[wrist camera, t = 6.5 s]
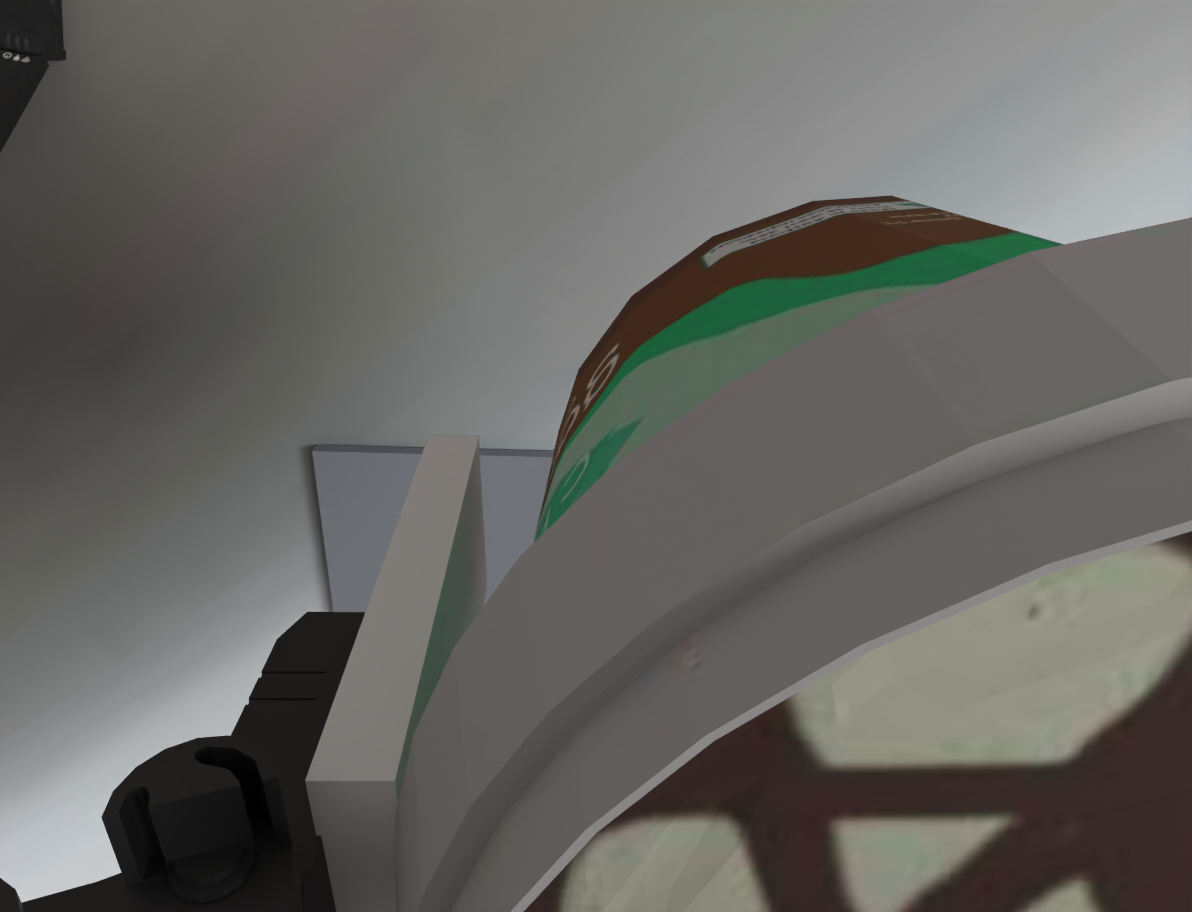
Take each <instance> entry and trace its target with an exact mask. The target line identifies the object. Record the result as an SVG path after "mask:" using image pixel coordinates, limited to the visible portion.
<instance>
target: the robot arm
mask: <svg viewBox="0 0 1192 912" xmlns="http://www.w3.org/2000/svg"><path fill="white" fill-rule="evenodd" d="M486 588H487V569H486V552H485V535H484V518H483V501H482V484H481V467H480V449H479V436H428V439H427V441H426V444H425V447H424V450H423V453H422V455H421V458H420V461H419V464H418V467H417V469H416V472H415V475H414V478H413V481H412V483H411V486H410V489H409V492H408V494H407V497H406V500H405V503H404V506H403V508H402V511H401V514H400V517H399V520H398V522H397V525H396V528H395V531H394V534H393V536H392V539H391V542H390V545H389V548H388V550H387V553H386V556H385V559H384V562H383V564H382V567H381V570H380V573H379V576H378V578H377V581H376V584H375V587H374V590H373V592H372V595H371V598H370V601H369V604H368V606H367V609H366V612H307V613H305V614H304V615H303V616H302V617H301V618H300V619H299V620H298V621H297V622H296V623H295V624H293V625H292V626H291V627H290V628H289V629H288V630H287V631H286V632H285V633H284V634H282V635H281V636H280V637H279V638H278V639H277V641H276V643H275V645H274V647H273V649H272V651H271V653H270V655H269V657H268V659H267V662H266V664H265V666H264V668H263V670H262V677H261V678H258V680H257V682H256V684H255V687H254V689H253V691H252V693H251V695H250V697H249V704H248V705H245V707H244V709H243V712H242V714H241V716H240V718H239V720H238V722H237V724H236V726H235V728H234V730H233V732H232V734H231V736H217V737H205V738H196V739H193V740H190V741H188V742H185V743H182V744H179V745H176V746H173V747H170V748H167V749H165V750H163V751H161V752H160V753H158V754H157V755H155V756H153V757H152V758H150V759H149V760H147V761H145V762H144V763H142V764H141V765H139V766H137V767H136V768H135V769H134V770H133V771H132V772H131V773H130V774H129V775H128V776H127V777H126V778H125V779H124V780H123V782H122V783H121V784H120V785H119V786H118V787H117V788H116V789H115V790H114V791H113V793H112V795H111V797H110V800H109V802H108V804H107V806H106V808H105V811H104V813H103V815H102V820H103V823H104V825H105V828H106V831H107V834H108V836H109V839H110V842H111V845H112V847H113V850H114V853H115V855H116V858H117V861H118V864H119V866H120V869H121V872H122V873H120V874H117V875H114V876H112V877H109V878H106V879H103V880H101V881H98V882H95V883H91V884H87V885H84V886H80V887H77V888H73V889H69V890H66V891H62V892H59V893H55V894H51V895H48V896H44V897H41V898H37V899H33V900H30V901H26V902H23V903H21V901H20V899H19V896H18V894H17V892H16V890H15V889H14V888H13V887H11V886H10V885H9V884H7V883H6V882H5V881H4V880H2V879H1V878H0V912H397V893H396V825H395V815H396V811H397V806H398V802H399V797H400V793H401V788H402V784H403V779H404V775H405V770H406V766H407V761H408V757H409V752H410V748H411V743H412V739H413V735H414V732H415V730H416V728H417V726H418V724H419V722H420V719H421V717H422V715H423V713H424V711H425V709H426V706H427V704H428V702H429V700H430V698H431V696H432V693H433V691H434V689H435V687H436V685H437V683H438V680H439V678H440V676H441V674H442V672H443V670H444V667H445V665H446V663H447V661H448V659H449V657H450V654H451V652H452V650H453V648H454V647H455V645H456V644H457V643H458V641H459V640H460V638H461V637H462V636H463V634H464V633H465V631H466V630H467V629H468V627H469V626H470V625H471V623H472V622H473V620H474V619H475V618H476V616H477V615H478V613H479V612H480V611H481V609H482V608H483V606H484V600H485V594H486Z"/></svg>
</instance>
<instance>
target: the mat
mask: <svg viewBox="0 0 1192 912" xmlns="http://www.w3.org/2000/svg"><path fill="white" fill-rule="evenodd" d="M423 450H424V448H419V447H379V446H339V445H315V447H314V449H313V450H312V455H313V462H314V470H315V478H316V485H317V493H318V500H319V508H320V515H321V523H322V530H323V538H324V546H325V553H326V561H327V568H328V576H329V583H330V591H331V599H332V606H333V612H366V609H367V606H368V604H369V601H370V598H371V595H372V592H373V590H374V587H375V584H376V581H377V578H378V576H379V573H380V570H381V567H382V564H383V562H384V559H385V556H386V553H387V550H388V548H389V545H390V542H391V539H392V536H393V534H394V531H395V528H396V525H397V522H398V520H399V517H400V514H401V511H402V508H403V506H404V503H405V500H406V497H407V494H408V492H409V489H410V486H411V483H412V481H413V478H414V475H415V472H416V469H417V467H418V464H419V461H420V458H421V455H422V453H423ZM553 454H554V451H539V450H499V449H480V467H481V484H482V501H483V518H484V535H485V552H486V569H487V588H486V594H485V600H484V605H485V604H486V602H487V601H488V600H489V598H490V597H491V595H492V594H493V593H494V591H495V590H496V588H497V587H498V586H499V584H500V583H501V582H502V580H503V579H504V577H505V576H506V575H507V573H508V572H509V570H510V569H511V568H512V566H513V565H514V564H515V562H516V561H517V559H518V558H519V557H520V556H521V555H522V554H523V553H524V552H525V551H526V550H527V549H528V548H529V547H530V546H531V545H532V544H533V543H534V538H535V534H536V530H537V525H538V521H539V516H540V512H541V507H542V503H543V499H544V494H545V490H546V485H547V481H548V477H549V472H550V468H551V463H552V459H553ZM483 607H484V606H483Z"/></svg>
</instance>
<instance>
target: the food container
mask: <svg viewBox="0 0 1192 912" xmlns="http://www.w3.org/2000/svg"><path fill="white" fill-rule="evenodd" d="M395 825H396V893H397V912H1192V218H1188V219H1183V220H1178V221H1174V222H1169V223H1164V224H1159V225H1155V226H1150V227H1145V228H1140V229H1136V230H1131V231H1126V232H1121V233H1117V234H1112V235H1107V236H1103V237H1098V238H1093V239H1088V240H1084V241H1079V242H1074V243H1069V244H1065V245H1064V244H1060V243H1057V242H1053V241H1050V240H1046V239H1043V238H1039V237H1036V236H1032V235H1029V234H1025V233H1021V232H1018V231H1014V230H1011V229H1007V228H1004V227H1000V226H997V225H993V224H990V223H986V222H983V221H979V220H975V219H972V218H968V217H965V216H961V215H958V214H954V213H951V212H947V211H944V210H940V209H936V208H933V207H929V206H926V205H922V204H919V203H915V202H912V201H908V200H905V199H901V198H898V197H894V196H879V197H865V198H851V199H836V200H822V201H812V202H809V203H806V204H803V205H800V206H797V207H795V208H792V209H789V210H786V211H783V212H781V213H778V214H775V215H772V216H769V217H766V218H764V219H761V220H758V221H755V222H752V223H749V224H747V225H744V226H741V227H738V228H735V229H733V230H730V231H727V232H724V233H721V234H718V235H716V236H713V237H711V238H710V239H709V240H707V241H706V242H705V243H703V244H702V245H701V246H699V247H698V248H696V249H695V250H694V251H692V252H691V253H690V254H688V255H687V256H686V257H684V258H683V259H682V260H680V261H679V262H677V263H676V264H675V265H673V266H672V267H671V268H669V269H668V270H667V271H665V272H664V273H662V274H661V275H660V276H658V277H657V278H656V279H654V280H653V281H652V282H650V283H649V284H648V285H646V286H645V287H643V288H642V289H641V290H639V291H638V292H637V293H635V294H634V295H633V296H632V297H631V298H630V299H629V301H628V302H627V303H626V305H625V306H624V308H623V309H622V310H621V312H620V313H619V314H618V316H617V317H616V319H615V320H614V321H613V323H612V324H611V326H610V327H609V328H608V330H607V331H606V332H605V334H604V335H603V337H602V338H601V339H600V341H599V342H598V344H597V345H596V346H595V348H594V349H593V350H592V352H591V353H590V355H589V356H588V357H587V359H586V360H585V361H584V363H583V364H582V366H581V367H580V368H579V370H578V373H577V376H576V379H575V382H574V386H573V389H572V392H571V395H570V398H569V401H568V404H567V407H566V410H565V413H564V416H563V420H562V423H561V426H560V429H559V432H558V437H557V441H556V446H555V450H554V454H553V459H552V463H551V468H550V472H549V477H548V481H547V485H546V490H545V494H544V499H543V503H542V507H541V512H540V516H539V521H538V525H537V530H536V534H535V538H534V543H533V544H532V545H531V546H530V547H529V548H528V549H527V550H526V551H525V552H524V553H523V554H522V555H521V556H520V557H519V558H518V559H517V561H516V562H515V564H514V565H513V566H512V568H511V569H510V570H509V572H508V573H507V575H506V576H505V577H504V579H503V580H502V582H501V583H500V584H499V586H498V587H497V588H496V590H495V591H494V593H493V594H492V595H491V597H490V598H489V600H488V601H487V602H486V604H485V605H484V607H483V608H482V609H481V611H480V612H479V613H478V615H477V616H476V618H475V619H474V620H473V622H472V623H471V625H470V626H469V627H468V629H467V630H466V631H465V633H464V634H463V636H462V637H461V638H460V640H459V641H458V643H457V644H456V645H455V647H454V648H453V650H452V652H451V654H450V657H449V659H448V661H447V663H446V665H445V667H444V670H443V672H442V674H441V676H440V678H439V680H438V683H437V685H436V687H435V689H434V691H433V693H432V696H431V698H430V700H429V702H428V704H427V706H426V709H425V711H424V713H423V715H422V717H421V719H420V722H419V724H418V726H417V728H416V730H415V732H414V735H413V739H412V743H411V748H410V752H409V757H408V761H407V766H406V770H405V775H404V779H403V784H402V788H401V793H400V797H399V802H398V806H397V811H396V815H395Z"/></svg>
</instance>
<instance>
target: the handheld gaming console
mask: <svg viewBox="0 0 1192 912" xmlns="http://www.w3.org/2000/svg"><path fill="white" fill-rule="evenodd" d="M0 48H1V49H6V50H10V51H14V52H18V53H22V54H27V55H22V54H18V53H13V52H9V51H5V50H0V152H1V150H2V149H3V147H4V145H5V143H6V142H7V140H8V138H9V136H10V134H11V133H12V131H13V129H14V127H15V126H16V124H17V122H18V120H19V118H20V117H21V115H22V113H23V111H24V110H25V108H26V106H27V104H28V102H29V101H30V99H31V97H32V95H33V93H34V92H35V90H36V88H37V86H38V85H39V83H40V81H41V79H42V77H43V76H44V74H45V72H46V70H47V68H48V67H49V65H48V62H47V60H46V59H49V60H52V59H57V60H65V59H66V50H62V48H64V47H63V26H62V4H61V0H0ZM28 55H31V56H28Z"/></svg>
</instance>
